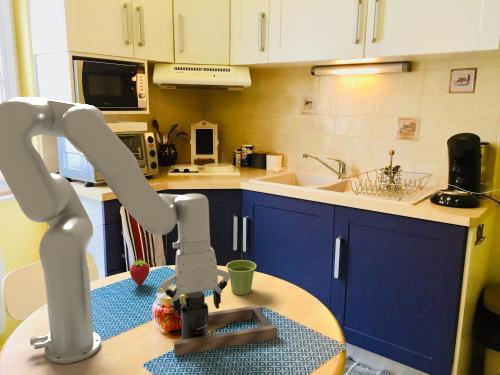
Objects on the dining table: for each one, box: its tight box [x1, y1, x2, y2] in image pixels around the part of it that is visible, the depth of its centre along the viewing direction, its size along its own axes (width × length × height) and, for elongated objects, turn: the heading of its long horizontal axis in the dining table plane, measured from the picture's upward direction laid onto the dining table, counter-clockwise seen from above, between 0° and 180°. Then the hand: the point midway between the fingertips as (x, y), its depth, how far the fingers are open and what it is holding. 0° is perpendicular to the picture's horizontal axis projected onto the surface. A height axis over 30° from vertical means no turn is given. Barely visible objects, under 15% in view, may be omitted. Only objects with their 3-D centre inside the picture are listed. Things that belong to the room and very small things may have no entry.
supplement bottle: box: [180, 291, 209, 340], centre depth 107 cm, size 7×7×12 cm
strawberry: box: [129, 259, 150, 287], centre depth 136 cm, size 6×8×10 cm
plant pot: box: [225, 259, 257, 296], centre depth 134 cm, size 9×9×9 cm
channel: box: [173, 304, 278, 357], centre depth 110 cm, size 26×12×3 cm, turn 108°
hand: (197, 309), depth 107 cm, fingers open, 9 cm apart
